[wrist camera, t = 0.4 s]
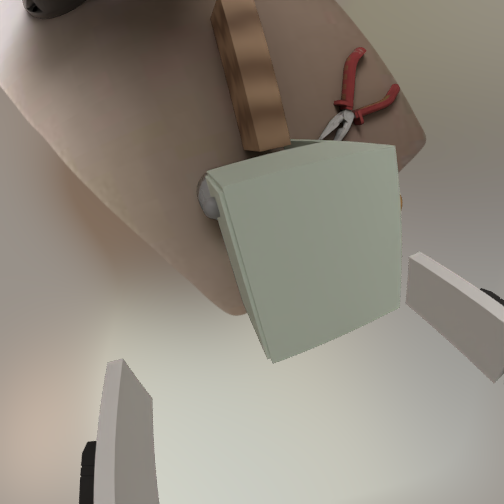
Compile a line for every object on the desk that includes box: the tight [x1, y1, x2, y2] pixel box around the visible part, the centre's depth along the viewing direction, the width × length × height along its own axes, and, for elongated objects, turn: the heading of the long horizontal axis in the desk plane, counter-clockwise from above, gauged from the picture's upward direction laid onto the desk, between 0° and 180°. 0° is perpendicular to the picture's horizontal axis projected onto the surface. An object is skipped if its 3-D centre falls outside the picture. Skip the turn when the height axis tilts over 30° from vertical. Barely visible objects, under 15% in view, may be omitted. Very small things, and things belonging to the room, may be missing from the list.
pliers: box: [318, 47, 400, 141], centre depth 41 cm, size 12×20×3 cm, turn 144°
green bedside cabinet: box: [203, 139, 402, 364], centre depth 33 cm, size 16×16×24 cm
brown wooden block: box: [211, 0, 291, 152], centre depth 32 cm, size 22×4×9 cm, turn 13°
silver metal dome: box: [197, 168, 218, 220], centre depth 40 cm, size 7×7×4 cm
